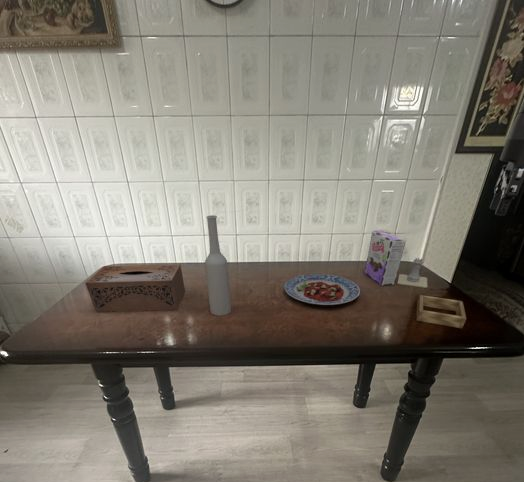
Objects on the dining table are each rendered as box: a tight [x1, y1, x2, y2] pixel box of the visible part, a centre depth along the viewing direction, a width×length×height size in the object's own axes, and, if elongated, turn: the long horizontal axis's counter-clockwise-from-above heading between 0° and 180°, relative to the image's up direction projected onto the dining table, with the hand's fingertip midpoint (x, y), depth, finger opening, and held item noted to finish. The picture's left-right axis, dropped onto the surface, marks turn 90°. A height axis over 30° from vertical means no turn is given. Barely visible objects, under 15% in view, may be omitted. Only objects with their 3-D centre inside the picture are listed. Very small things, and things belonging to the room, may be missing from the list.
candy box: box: [363, 229, 407, 286], centre depth 111 cm, size 14×6×16 cm, turn 10°
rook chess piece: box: [407, 257, 424, 282], centre depth 111 cm, size 4×4×8 cm
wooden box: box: [415, 294, 467, 329], centre depth 91 cm, size 12×12×3 cm
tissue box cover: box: [84, 263, 186, 313], centre depth 99 cm, size 26×14×10 cm, turn 92°
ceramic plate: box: [284, 273, 361, 306], centre depth 105 cm, size 26×26×3 cm
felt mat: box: [397, 273, 428, 289], centre depth 114 cm, size 10×10×1 cm
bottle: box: [204, 214, 232, 316], centre depth 88 cm, size 7×7×28 cm
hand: (496, 212), depth 79 cm, fingers open, 8 cm apart
